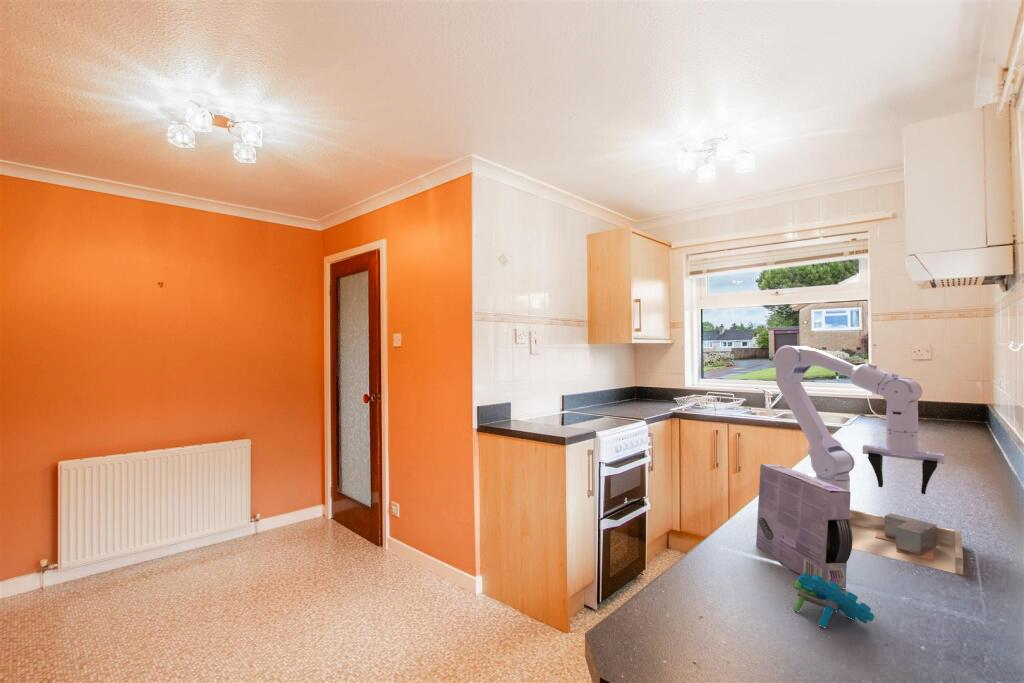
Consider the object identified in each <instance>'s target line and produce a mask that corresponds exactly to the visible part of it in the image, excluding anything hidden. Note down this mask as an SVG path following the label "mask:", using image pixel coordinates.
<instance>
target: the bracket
mask: <svg viewBox="0 0 1024 683" xmlns="http://www.w3.org/2000/svg"><path fill="white" fill-rule="evenodd" d="M884 516H885V536H886V537H889V538H893V539H896V549H898V550H901V551H905V552H908V553H911V554H915V555H918V556H922V555H923V554H925V553H927V552H928V551H930V550H931V549H933V548H935V547H936V546H937V527H938V525H937V524H935V523H932V522H928V521H923V520H919V519H915V518H911V517H908V516H904V515H900V514H895V513H891V512H890V513H888V514H886V515H884Z"/></svg>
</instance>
